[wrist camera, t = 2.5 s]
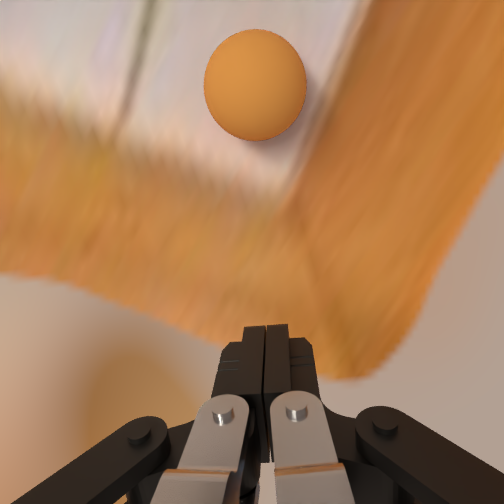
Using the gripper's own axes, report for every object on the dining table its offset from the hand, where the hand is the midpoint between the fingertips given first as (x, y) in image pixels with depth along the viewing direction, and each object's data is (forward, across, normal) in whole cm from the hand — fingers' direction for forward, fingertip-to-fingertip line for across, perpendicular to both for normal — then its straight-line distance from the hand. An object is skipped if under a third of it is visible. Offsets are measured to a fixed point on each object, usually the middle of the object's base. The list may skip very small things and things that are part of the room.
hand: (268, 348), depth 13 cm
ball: (+11, 0, -9) cm, 14 cm away
